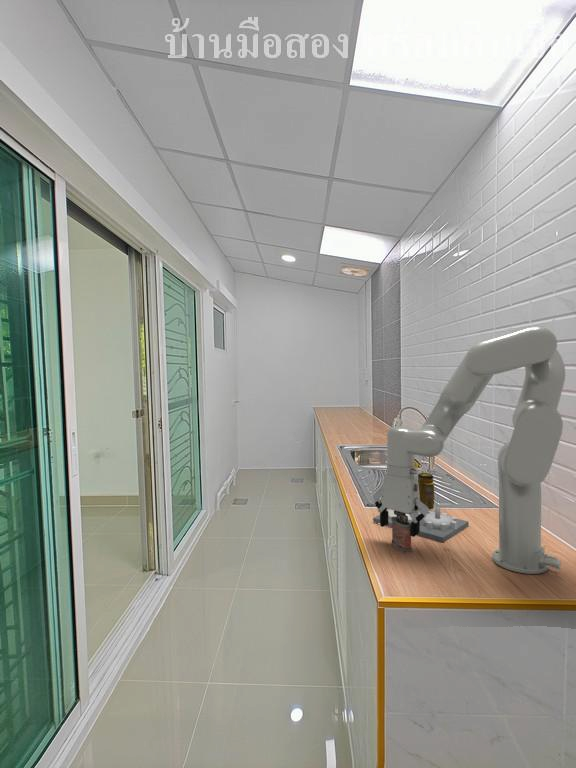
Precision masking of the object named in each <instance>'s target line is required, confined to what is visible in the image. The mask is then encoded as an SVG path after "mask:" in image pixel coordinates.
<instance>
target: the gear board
mask: <svg viewBox="0 0 576 768" xmlns="http://www.w3.org/2000/svg"><path fill="white" fill-rule="evenodd" d="M387 511H388V525H386V526H385V527H387V526H388V527H387V528H391V529H392V520H391V518H392V517H395V516H396V515H395V514H394V510H391V509H387ZM421 511H422V510H418V513H419V514H421ZM401 513H402V512H401ZM406 516H408V522H409V523H411V522H413V520H412V519H411V517H410V515H409V514H406ZM396 517H397V516H396ZM373 521H374V522H377V523H380V514H379V515H377V516H374V517H373V518H372V522H373ZM377 523H376V524H377ZM469 526H470V523H469V520H464V519H460V518H458V517H456V516H449V513H447V512H443V513H441V507H436V508H435V511H428V513H427V515H426V517H425V518H423V519H422V520H421V521H420V531H419V533H418V535H417V536H419V537H423V538H425V539H429V540H432V541H436V542H440V543H445V542H447V541H448V540H449V539H451V538H452V537H454V536H455V535H457V534H458V533H461V532H462V531H464V529H467V528H468V527H469Z"/></svg>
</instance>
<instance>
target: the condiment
mask: <svg viewBox="0 0 576 768" xmlns="http://www.w3.org/2000/svg"><path fill="white" fill-rule="evenodd" d="M417 480H418V485H419V494H420V501H421V502H422V503H423V504H425V505H426V506H427V507H428V508H429V511H428V512H435V508H437V507H436V506H435V482H434V476H433V474H432V473H428V472H421V473H420V472H419V473H418V474H417ZM419 510H421V509H419Z"/></svg>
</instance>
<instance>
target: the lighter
mask: <svg viewBox="0 0 576 768" xmlns="http://www.w3.org/2000/svg"><path fill="white" fill-rule="evenodd" d="M394 514H395V515H396V516H397V517H396V516H395V517H392V518H391V520H392V528H391V534H392V535H391V538H392V539H391V544H392V546H393V547H394V548H395V549H397V550H399V551H401V552H402V553H403V554H411V553H412V552H413V547H412V536H411V523H409V522H408V516H406V514H405V513H401V512H398V511H395V510H394Z"/></svg>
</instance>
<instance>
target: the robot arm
mask: <svg viewBox="0 0 576 768" xmlns="http://www.w3.org/2000/svg"><path fill="white" fill-rule="evenodd" d="M557 347H558V340H557V337H556V335H555V334H554V333H553V331H552V330H550V329H548V328H546V327H542V326H531V327H528V328H524V329H522V330H519V331H518V330H517V331H515V332H512V333H508V334H506V335H502V336H499V337H496V338H492V339H488V340H484V341H480V342H478V343H476V344H474V345H472V346H471V347H470V348H469V349H468V351H467V352H466V353H465V356H464V357H463V358H462V360H461V362H460V363H459V365H458V367H456V369H455V371H454V373H453V374H452V376H451V377H450V379H449V380H448V382H447V383H446V385H445V387H443V390H442V392H441V393H440V395H439V398H438V400H437V402H436V404H435V406H434V408H433V409H432V411H430V414H429V415H428V416H427V418H426V420H425V421H424V423H423V425H422V426H421V428H420V429H415V430H414V429H413V427H410V426H409V427H408V426H404V425H403V426H400V425H399V426H398V425H397V426H395V425H394V426H391V427H389V428H388V429H387V433H386V435H387V439H386V440H387V442H386V444H387V445H386V446H387V448H386V451H387V452H386V472H385V473H384V477H383V480H382V487H381V491H380V492H377V493H375V494H372V499H373V500H374V505H375V506H376V508H377V511H378V513H379V515H380V524H379V525H380V526H379V527H387V526H386V525H388V510H390V509H391V510H395V511H398V512H402V513H405V514H409V515H410V517H411V519H412V520H413V522H411V538H412V537H413V538H414V537H416V536H418V533H419V531H420V521H421V520H422V519H423V518H425V517H426V515H427V513H428V512H430V511H429V508H428V507H427V506H426V505H425V504H423V503H422V502H421V501H420V494H419V485H418V474H419V469H416V468H415V467H416V466H415V456H419V457H425V458H434V457H437V456H439V455H440V454H441V453H442V452H443V449H444V445H445V441H446V440H447V439H448V438H449V436H450V434H451V433H452V431H453V430H454V429H455V427H456V425H457V424H458V423H459V421H460V420H461V419H462V418H463V416H465V414H467V413H468V412H469V411H470V410H471V409H472V408H473V407H474V405H475V404H476V402H477V401H478V400H479V398H480V396H481V395H482V393H483V391H484V390H485V389H486V387H487V385H488V384H489V383H490V381H491V380H492V378H493V377H494V375H497V374H501V373H506V372H510V371H513V370H517V369H520V368H524V369H525V370H524V371H525V376H524V381H523V385H522V389H521V392H520V394H519V397H518V400H517V405H516V407H515V409H514V412H513V414H512V425H513V428H514V429H513V432H512V436H511V438H510V441H508V442H506V443H504V445H503V446H501V448H500V449H499V452H498V456H497V470H498V473H497V474H498V549H496V550H494V551H493V552H492V553H491V554H492V558H491V559H492V560H493V562H494V563H495V564H496V565H498V566H500V567H501V568H503V569H505V570H509V571H511V572H515V573H521V574H526V575H538V574H542V573H545V572H546V571H548V569H549V567H551V568H553V569H554V568H555V569H558V570H561V566H562V562H561V560H559V559H558V557H557V556H554V555H549V554H547V553H546V549H545V547H543V546H542V484H541V483H542V482H544V481H545V480H546V478H547V476H548V475H549V473H550V470H551V467H552V465H553V461H554V458H555V456H556V452H557V450H558V448H559V447H558V446H559V444H560V440H561V437H562V434H563V429H564V426H563V425H564V422H563V418H562V415H561V414H560V412H559V411H558V407H559V403H560V400H561V396H562V393H563V389H564V386H565V385H564V384H565V381H566V367H565V363H564V360H563V358H562V356H561V354H560V352H559V350H558V349H557ZM415 475H417V476H415ZM419 509H421V510H422V511H421V514H419V513H418V510H419Z"/></svg>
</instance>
